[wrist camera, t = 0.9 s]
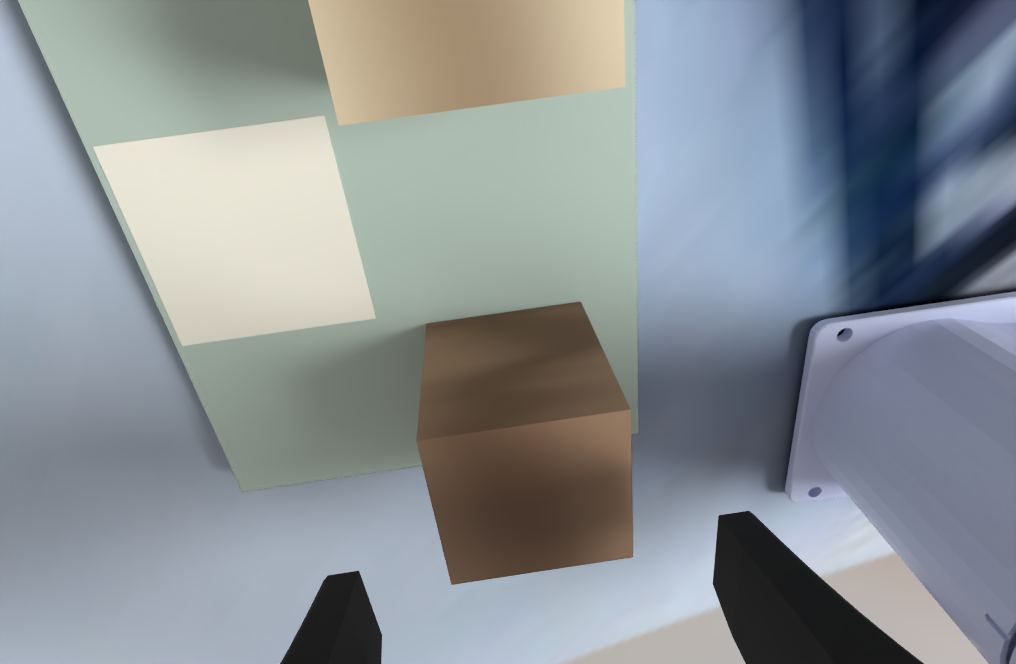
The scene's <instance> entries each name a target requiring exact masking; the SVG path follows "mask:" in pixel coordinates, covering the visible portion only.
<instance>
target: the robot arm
mask: <svg viewBox="0 0 1016 664" xmlns="http://www.w3.org/2000/svg"><path fill="white" fill-rule="evenodd" d="M844 328H845V330H844V332H843V333H842V334H841V335H839V336H837V335H838V332H840V331H841V330H842V329H844ZM785 493H786V495H787V496H788V498H789V499H790V500H791V501H792V502H795V503H802V502H808V501H815V500H822V499H828V498H835V497H842V496H849V497H850V498H851V499H852V501H853V502H854V503H855V504H856V505H857V507H858V508H859V509H860V510H861V511H862V513H863V514H864V515H865V516H866V517H867V519H868V520H869V521H870V522H871V523H872V524H873V526H874V527H875V528H876V529H877V530H878V532H879V533H880V534H881V535H882V536H883V538H884V539H885V540H886V541H887V542H888V544H889V545H890V546H891V547H892V548H893V550H894V551H895V552H896V553H897V554H898V556H899V557H900V558H901V559H902V560H903V561H904V563H905V564H906V565H907V566H908V567H909V569H910V570H911V571H912V572H913V573H914V575H915V576H916V577H917V578H918V579H919V581H920V582H921V583H922V584H923V585H924V587H925V588H926V589H927V590H928V591H929V593H930V594H931V595H932V596H933V597H934V598H935V600H936V601H937V602H938V603H939V604H940V606H941V607H942V608H943V609H944V610H945V612H946V613H947V614H948V615H949V616H950V618H951V619H952V620H953V621H954V622H955V624H956V625H957V626H958V627H959V628H960V630H961V631H962V632H963V633H964V634H965V636H966V637H967V638H968V639H969V640H970V641H971V643H972V644H973V645H974V646H975V647H976V649H977V650H978V651H979V652H980V653H981V655H982V656H983V657H984V658H985V659H986V661H987V662H988V663H989V664H1016V292H1009V293H1002V294H995V295H988V296H981V297H974V298H967V299H960V300H953V301H947V302H940V303H933V304H926V305H919V306H912V307H905V308H898V309H891V310H884V311H877V312H871V313H864V314H857V315H850V316H843V317H836V318H829V319H824V320H821V321H819V322H818V323H816V324H815V325H814V326H813V327H812V329H811V331H810V333H809V338H808V345H807V351H806V358H805V364H804V370H803V377H802V383H801V390H800V396H799V403H798V409H797V415H796V422H795V428H794V435H793V441H792V448H791V454H790V460H789V467H788V473H787V480H786V486H785ZM713 585H714V588H715V591H716V594H717V596H718V599H719V602H720V605H721V607H722V610H723V612H724V615H725V618H726V621H727V623H728V626H729V628H730V631H731V633H732V636H733V638H734V640H735V642H736V644H737V646H738V649H739V650H740V653H741V655H742V657H743V659H744V661H745V663H746V664H924V663H922V662H921V661H920V660H918V659H917V658H916V657H914V656H913V655H912V654H911V653H909V652H908V651H907V650H905V649H904V648H903V647H902V646H900V645H899V644H898V643H897V642H895V641H894V640H893V639H892V638H891V637H889V636H888V635H887V634H886V633H884V632H883V631H882V630H881V629H879V628H878V627H877V626H876V625H875V624H873V623H872V622H871V621H870V620H869V619H867V618H866V617H865V616H864V615H862V614H861V613H860V612H859V611H858V610H856V609H855V608H854V607H853V606H852V605H851V604H850V603H849V602H848V601H846V600H845V599H844V598H843V597H842V596H841V595H840V594H838V593H837V592H836V591H835V590H834V589H833V588H831V587H830V586H829V585H828V584H827V583H826V582H825V581H824V580H822V579H821V578H820V577H819V576H818V575H817V574H816V573H815V572H814V571H813V570H811V569H810V568H809V567H808V566H807V565H806V564H805V563H804V562H803V561H802V560H801V559H800V558H799V557H797V556H796V555H795V554H794V553H793V552H792V551H791V550H790V549H789V548H788V547H787V546H786V545H785V544H784V543H783V542H782V541H780V540H779V539H778V538H777V537H776V536H775V535H774V534H773V533H772V532H771V531H770V530H769V529H768V528H767V527H766V526H765V525H764V524H763V523H762V522H761V521H760V520H759V519H758V518H757V517H756V516H755V515H754V514H752V513H751V512H750V511H745V512H739V513H732V514H725V515H719V518H718V530H717V542H716V553H715V565H714V577H713ZM381 649H382V634H381V632H380V629H379V626H378V623H377V620H376V617H375V615H374V612H373V609H372V606H371V603H370V601H369V598H368V595H367V592H366V589H365V587H364V584H363V581H362V578H361V575H360V573H359V571H355V572H348V573H342V574H335V575H329V576H327V577H326V579H325V580H324V581H323V583H322V585H321V587H320V589H319V591H318V593H317V595H316V597H315V599H314V601H313V603H312V605H311V607H310V609H309V611H308V613H307V615H306V617H305V619H304V621H303V623H302V625H301V627H300V629H299V630H298V632H297V634H296V636H295V638H294V640H293V642H292V644H291V645H290V647H289V649H288V651H287V653H286V655H285V656H284V658H283V660H282V662H281V663H280V664H381Z"/></svg>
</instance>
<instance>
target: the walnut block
mask: <svg viewBox="0 0 1016 664" xmlns="http://www.w3.org/2000/svg"><path fill="white" fill-rule="evenodd" d="M416 442H417V446H418V450H419V454H420V458H421V462H422V466H423V470H424V474H425V478H426V483H427V487H428V491H429V495H430V499H431V503H432V507H433V511H434V515H435V519H436V523H437V527H438V531H439V535H440V540H441V544H442V548H443V552H444V556H445V560H446V564H447V568H448V572H449V576H450V580H451V584H452V585H453V584H460V583H466V582H473V581H479V580H486V579H492V578H499V577H506V576H512V575H519V574H525V573H532V572H538V571H545V570H552V569H558V568H565V567H571V566H578V565H584V564H591V563H598V562H604V561H611V560H617V559H624V558H630V557H633V516H632V455H631V409H630V407H629V405H628V403H627V400H626V398H625V396H624V394H623V392H622V390H621V387H620V385H619V383H618V381H617V379H616V377H615V374H614V372H613V370H612V368H611V366H610V364H609V361H608V359H607V357H606V355H605V353H604V351H603V348H602V346H601V344H600V342H599V340H598V338H597V335H596V333H595V331H594V329H593V327H592V325H591V322H590V320H589V318H588V316H587V314H586V312H585V309H584V307H583V305H582V303H581V302H575V303H568V304H561V305H554V306H547V307H540V308H533V309H526V310H519V311H512V312H505V313H498V314H491V315H484V316H477V317H470V318H463V319H456V320H449V321H442V322H435V323H428V324H426V332H425V344H424V356H423V368H422V380H421V392H420V404H419V415H418V427H417V439H416Z"/></svg>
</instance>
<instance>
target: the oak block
mask: <svg viewBox="0 0 1016 664" xmlns="http://www.w3.org/2000/svg"><path fill="white" fill-rule="evenodd" d="M308 2H309V6H310V10H311V14H312V18H313V22H314V26H315V30H316V35H317V39H318V43H319V47H320V51H321V55H322V59H323V63H324V67H325V71H326V75H327V79H328V83H329V87H330V92H331V96H332V100H333V104H334V108H335V112H336V116H337V120H338V124H339V126H341V125H348V124H356V123H363V122H370V121H378V120H385V119H393V118H400V117H407V116H415V115H422V114H429V113H437V112H444V111H452V110H459V109H466V108H474V107H481V106H488V105H496V104H503V103H511V102H518V101H525V100H533V99H540V98H547V97H555V96H562V95H570V94H577V93H584V92H592V91H599V90H607V89H614V88H621V87H626V86H625V25H624V0H308Z"/></svg>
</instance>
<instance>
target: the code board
mask: <svg viewBox="0 0 1016 664" xmlns="http://www.w3.org/2000/svg"><path fill="white" fill-rule="evenodd" d="M18 2H19V4H20V6H21V8H22V11H23V13H24V15H25V17H26V19H27V22H28V24H29V26H30V28H31V30H32V33H33V35H34V37H35V39H36V41H37V44H38V46H39V48H40V50H41V52H42V55H43V57H44V59H45V61H46V63H47V65H48V68H49V70H50V72H51V74H52V76H53V79H54V81H55V83H56V85H57V87H58V90H59V92H60V94H61V96H62V98H63V101H64V103H65V105H66V107H67V109H68V112H69V114H70V116H71V118H72V120H73V122H74V125H75V127H76V129H77V131H78V133H79V136H80V138H81V140H82V142H83V144H84V147H85V149H86V151H87V153H88V155H89V158H90V160H91V162H92V164H93V166H94V169H95V171H96V173H97V175H98V177H99V179H100V182H101V184H102V186H103V188H104V190H105V193H106V195H107V197H108V199H109V201H110V204H111V206H112V208H113V210H114V212H115V215H116V217H117V219H118V221H119V223H120V225H121V228H122V230H123V232H124V234H125V236H126V239H127V241H128V243H129V245H130V247H131V250H132V252H133V254H134V256H135V258H136V261H137V263H138V265H139V267H140V269H141V272H142V274H143V276H144V278H145V280H146V282H147V285H148V287H149V289H150V291H151V293H152V296H153V298H154V300H155V302H156V304H157V307H158V309H159V311H160V313H161V315H162V318H163V320H164V322H165V324H166V326H167V329H168V331H169V333H170V335H171V337H172V339H173V342H174V344H175V346H176V348H177V350H178V353H179V355H180V357H181V359H182V361H183V364H184V366H185V368H186V370H187V372H188V375H189V377H190V379H191V381H192V383H193V386H194V388H195V390H196V392H197V394H198V396H199V399H200V401H201V403H202V405H203V407H204V410H205V412H206V414H207V416H208V418H209V421H210V423H211V425H212V427H213V429H214V432H215V434H216V436H217V438H218V440H219V442H220V445H221V447H222V449H223V451H224V453H225V456H226V458H227V460H228V462H229V464H230V467H231V469H232V471H233V473H234V475H235V478H236V480H237V482H238V484H239V486H240V489H241V491H242V492H247V491H254V490H261V489H268V488H274V487H281V486H288V485H295V484H302V483H308V482H315V481H322V480H329V479H335V478H342V477H349V476H356V475H362V474H369V473H376V472H383V471H389V470H396V469H403V468H410V467H416V466H422V462H421V458H420V454H419V450H418V446H417V442H416V439H417V427H418V415H419V404H420V392H421V380H422V368H423V356H424V344H425V332H426V324H428V323H435V322H442V321H449V320H456V319H463V318H470V317H477V316H484V315H491V314H498V313H505V312H512V311H519V310H526V309H533V308H540V307H547V306H554V305H561V304H568V303H575V302H581V303H582V305H583V307H584V309H585V312H586V314H587V316H588V318H589V320H590V322H591V325H592V327H593V329H594V331H595V333H596V335H597V338H598V340H599V342H600V344H601V346H602V348H603V351H604V353H605V355H606V357H607V359H608V361H609V364H610V366H611V368H612V370H613V372H614V374H615V377H616V379H617V381H618V383H619V385H620V387H621V390H622V392H623V394H624V396H625V398H626V400H627V403H628V405H629V407H630V409H631V435H633V434H639V428H638V310H637V192H636V74H635V0H624V25H625V86H626V87H621V88H614V89H607V90H599V91H592V92H584V93H577V94H570V95H562V96H555V97H547V98H540V99H533V100H525V101H518V102H511V103H503V104H496V105H488V106H481V107H474V108H466V109H459V110H452V111H444V112H437V113H429V114H422V115H415V116H407V117H400V118H393V119H385V120H378V121H370V122H363V123H356V124H348V125H341V126H339V124H338V120H337V116H336V112H335V108H334V104H333V100H332V96H331V92H330V87H329V83H328V79H327V75H326V71H325V67H324V63H323V59H322V55H321V51H320V47H319V43H318V39H317V35H316V30H315V26H314V22H313V18H312V14H311V10H310V6H309V2H308V0H18Z"/></svg>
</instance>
